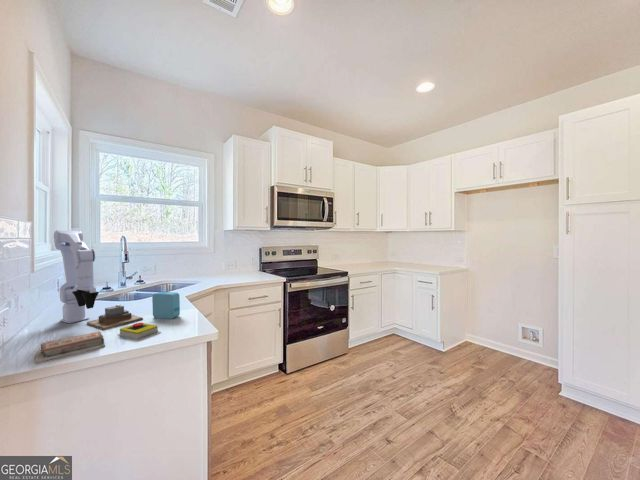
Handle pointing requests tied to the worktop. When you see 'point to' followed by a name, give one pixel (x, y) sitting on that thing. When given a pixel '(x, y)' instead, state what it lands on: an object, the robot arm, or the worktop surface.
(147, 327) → the emergency button
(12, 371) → the worktop surface
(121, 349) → the worktop surface
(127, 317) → the dock
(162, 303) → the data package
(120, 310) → the servo block
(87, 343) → the packaged product
